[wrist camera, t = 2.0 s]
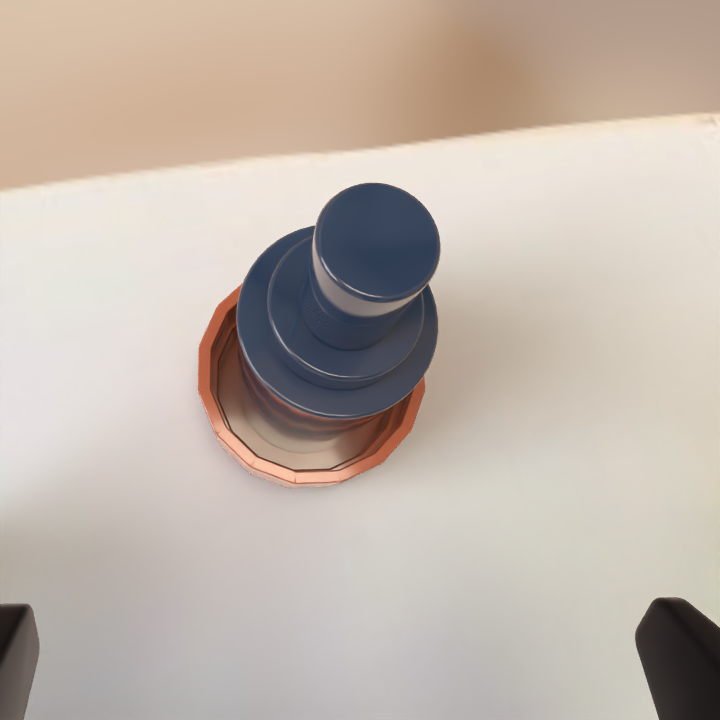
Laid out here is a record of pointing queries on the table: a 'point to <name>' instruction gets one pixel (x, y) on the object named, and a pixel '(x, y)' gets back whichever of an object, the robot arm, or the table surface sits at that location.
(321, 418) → the bottle
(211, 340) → the bowl
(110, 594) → the table surface
